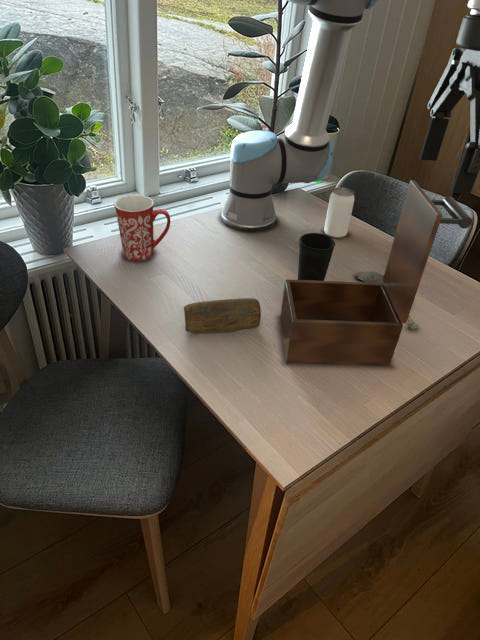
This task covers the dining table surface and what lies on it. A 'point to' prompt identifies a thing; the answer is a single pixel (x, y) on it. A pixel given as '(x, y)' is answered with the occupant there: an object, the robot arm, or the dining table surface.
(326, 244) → the cup
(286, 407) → the dining table surface
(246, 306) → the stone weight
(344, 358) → the chest
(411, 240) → the lid
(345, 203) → the can
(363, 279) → the soupspoon
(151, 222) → the mug
